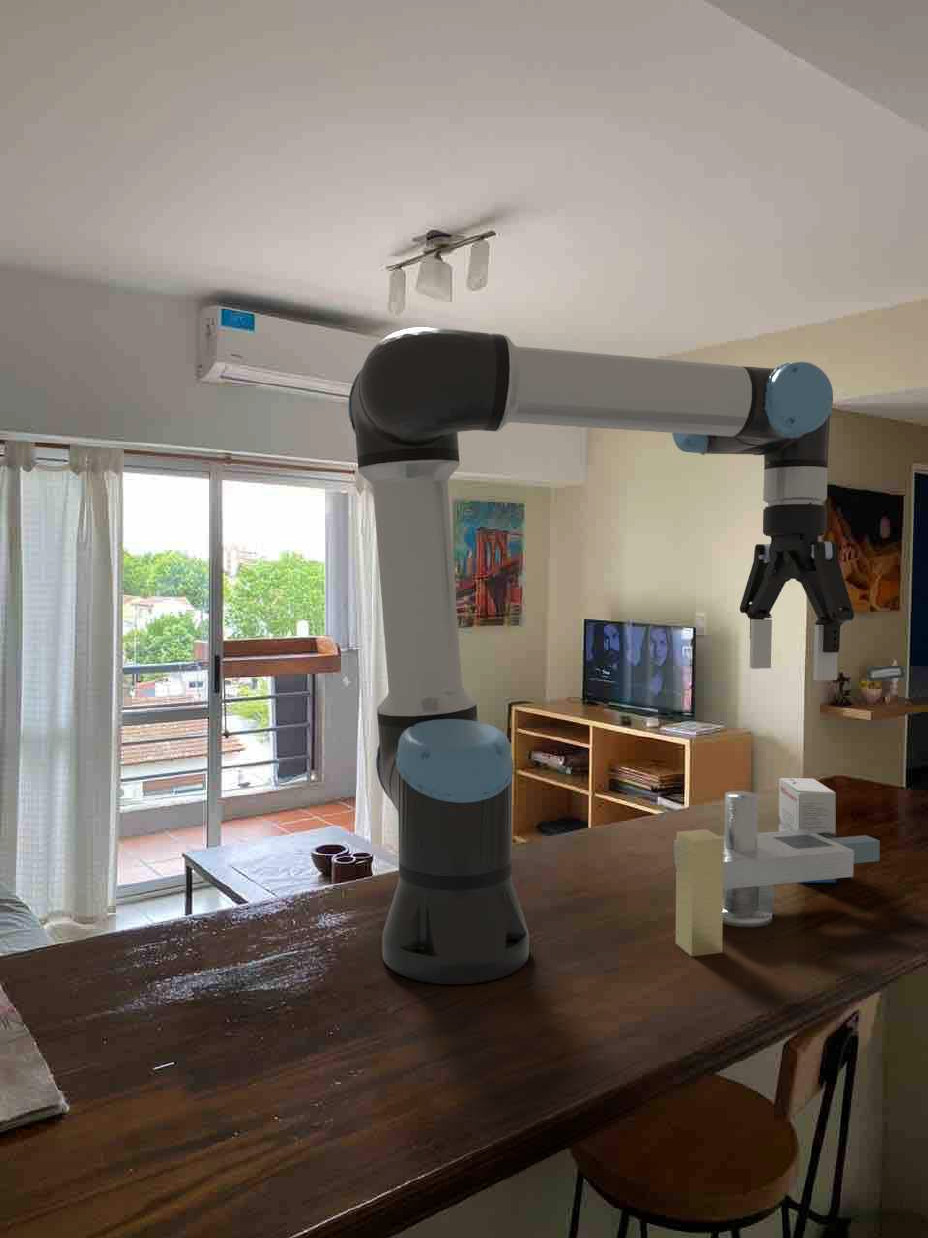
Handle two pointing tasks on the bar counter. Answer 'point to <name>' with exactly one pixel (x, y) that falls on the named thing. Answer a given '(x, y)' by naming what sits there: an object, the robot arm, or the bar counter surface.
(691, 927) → the pale yellow rectangular block
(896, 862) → the bar counter surface
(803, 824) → the ink box
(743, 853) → the slotted post fixture
